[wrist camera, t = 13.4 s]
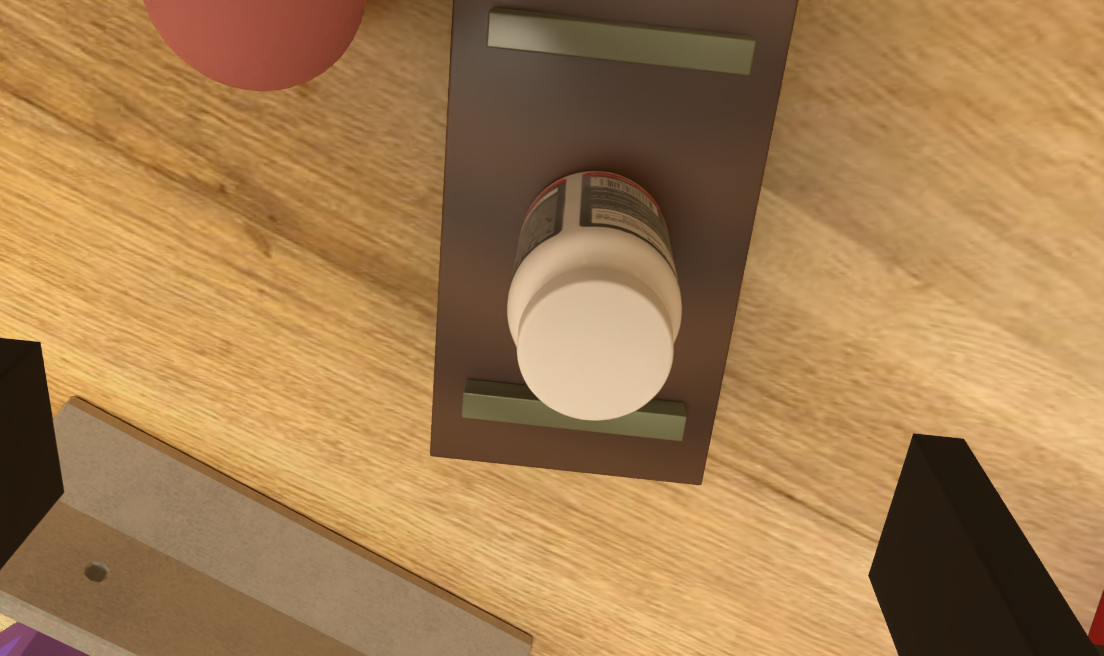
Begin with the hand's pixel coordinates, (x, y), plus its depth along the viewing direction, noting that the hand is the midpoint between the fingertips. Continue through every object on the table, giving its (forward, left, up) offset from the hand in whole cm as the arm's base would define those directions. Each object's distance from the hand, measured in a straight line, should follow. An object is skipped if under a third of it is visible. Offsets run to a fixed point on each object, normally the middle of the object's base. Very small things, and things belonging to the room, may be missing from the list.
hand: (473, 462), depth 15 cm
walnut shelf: (+4, +2, -29) cm, 29 cm away
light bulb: (-4, -10, -29) cm, 31 cm away
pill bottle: (+5, +2, -23) cm, 24 cm away
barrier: (+28, -12, -29) cm, 42 cm away
